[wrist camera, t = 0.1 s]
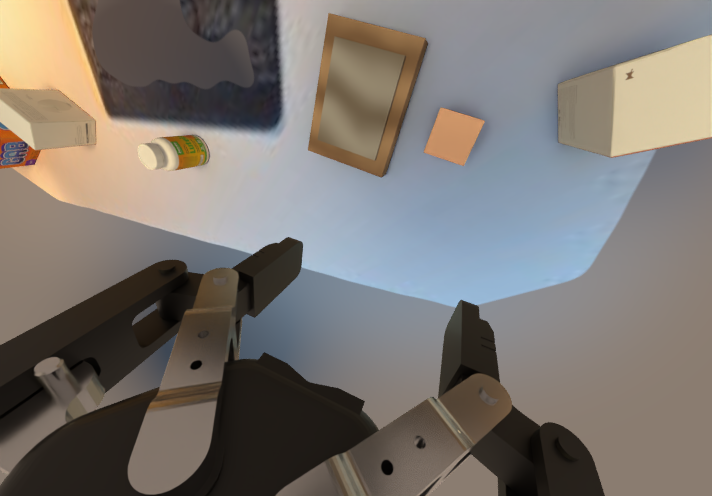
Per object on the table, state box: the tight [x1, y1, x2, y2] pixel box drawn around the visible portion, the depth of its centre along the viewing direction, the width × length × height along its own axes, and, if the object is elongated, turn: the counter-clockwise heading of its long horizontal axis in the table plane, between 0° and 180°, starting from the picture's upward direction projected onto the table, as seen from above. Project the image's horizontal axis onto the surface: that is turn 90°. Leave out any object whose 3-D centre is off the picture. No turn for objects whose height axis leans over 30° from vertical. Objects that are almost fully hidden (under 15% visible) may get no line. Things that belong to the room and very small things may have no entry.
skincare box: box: [0, 88, 96, 150], centre depth 54 cm, size 10×6×10 cm, turn 56°
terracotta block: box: [424, 108, 485, 166], centre depth 30 cm, size 4×4×8 cm
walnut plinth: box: [308, 13, 428, 177], centre depth 35 cm, size 16×12×3 cm
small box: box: [558, 35, 712, 158], centre depth 22 cm, size 8×6×13 cm
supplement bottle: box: [138, 135, 209, 171], centre depth 46 cm, size 5×5×10 cm
